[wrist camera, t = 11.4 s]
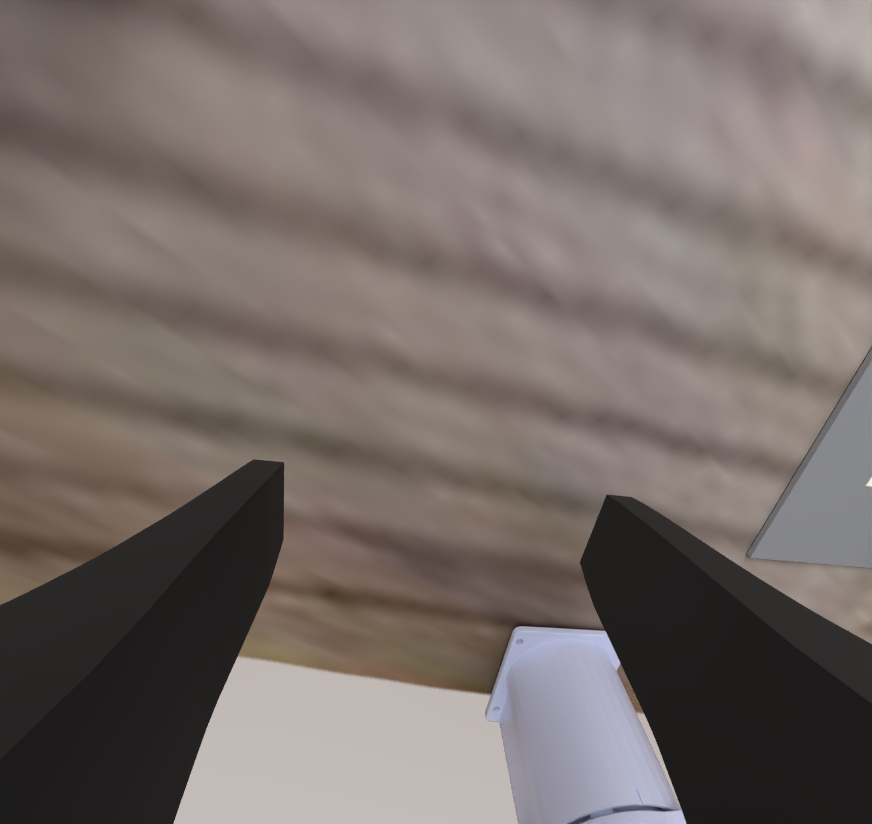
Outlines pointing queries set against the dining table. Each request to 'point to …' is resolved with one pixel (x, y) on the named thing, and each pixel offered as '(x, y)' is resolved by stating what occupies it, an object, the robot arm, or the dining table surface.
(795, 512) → the mat
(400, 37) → the dining table surface
